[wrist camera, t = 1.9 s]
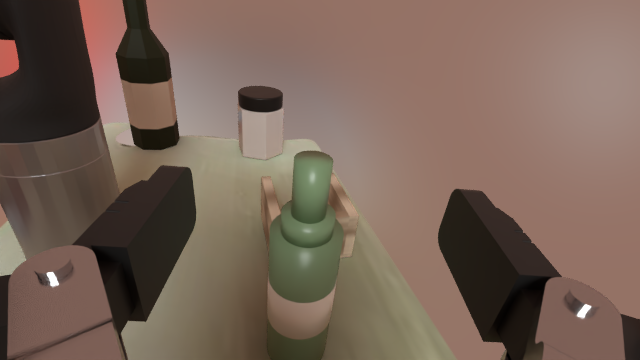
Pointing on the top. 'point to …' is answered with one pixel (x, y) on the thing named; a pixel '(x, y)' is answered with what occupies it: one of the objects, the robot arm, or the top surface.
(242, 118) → the jar
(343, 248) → the cradle
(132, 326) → the top surface
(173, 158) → the top surface
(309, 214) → the green bottle
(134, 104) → the wine bottle
